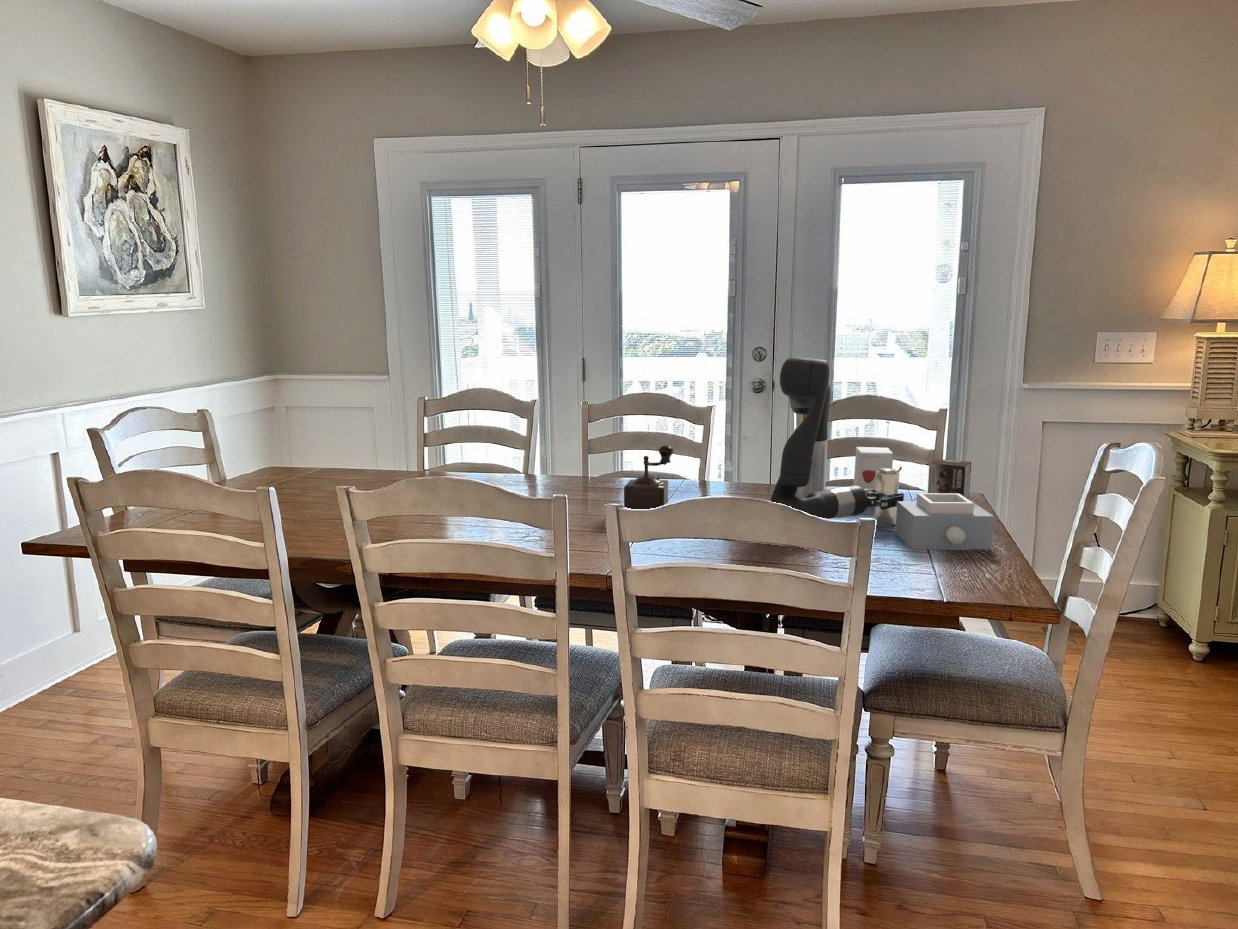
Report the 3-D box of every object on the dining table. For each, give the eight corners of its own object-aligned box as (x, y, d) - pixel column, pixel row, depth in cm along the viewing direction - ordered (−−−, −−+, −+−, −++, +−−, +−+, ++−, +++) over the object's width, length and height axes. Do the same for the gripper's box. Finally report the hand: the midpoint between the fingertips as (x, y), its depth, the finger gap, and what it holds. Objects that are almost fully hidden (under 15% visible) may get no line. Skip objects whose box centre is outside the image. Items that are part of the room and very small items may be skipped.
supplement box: (856, 505, 252) (859, 452, 249) (852, 498, 260) (855, 446, 257) (890, 506, 251) (893, 452, 248) (885, 499, 259) (888, 446, 256)
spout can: (884, 526, 230) (888, 470, 227) (868, 521, 235) (871, 466, 232) (906, 522, 234) (909, 467, 231) (889, 517, 239) (893, 464, 236)
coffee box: (967, 524, 233) (972, 461, 229) (961, 529, 227) (966, 465, 224) (931, 519, 238) (935, 457, 234) (924, 524, 232) (928, 461, 229)
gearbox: (916, 553, 207) (919, 508, 205) (895, 533, 224) (898, 491, 222) (996, 554, 207) (1000, 508, 205) (969, 533, 224) (972, 491, 222)
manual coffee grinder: (665, 525, 232) (666, 454, 228) (622, 522, 234) (623, 453, 230) (673, 510, 247) (674, 444, 243) (633, 508, 249) (633, 442, 245)
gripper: (864, 493, 219) (916, 485, 227) (824, 481, 231) (874, 475, 239) (863, 523, 220) (914, 515, 228) (822, 510, 233) (872, 503, 241)
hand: (893, 494), depth 234 cm, fingers closed on spout can, 5 cm apart
